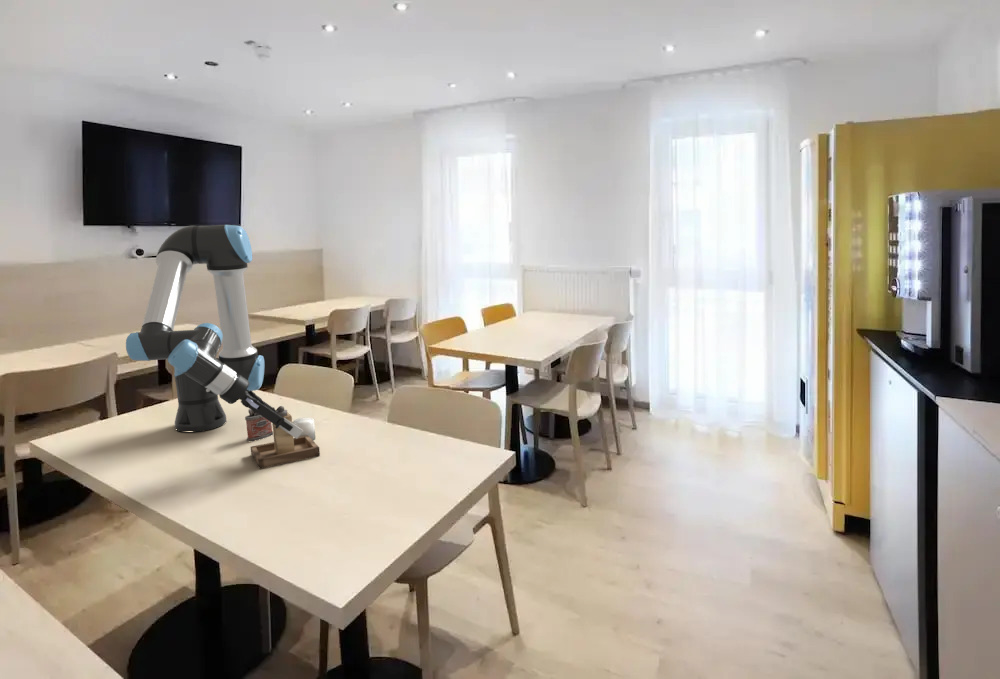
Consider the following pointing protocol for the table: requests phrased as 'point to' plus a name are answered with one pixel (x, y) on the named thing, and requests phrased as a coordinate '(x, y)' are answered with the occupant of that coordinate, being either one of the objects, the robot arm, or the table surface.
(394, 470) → the table surface
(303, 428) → the white pillar candle
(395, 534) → the table surface
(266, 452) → the tray
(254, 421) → the lighter
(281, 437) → the pepper mill
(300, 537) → the table surface
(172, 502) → the table surface
